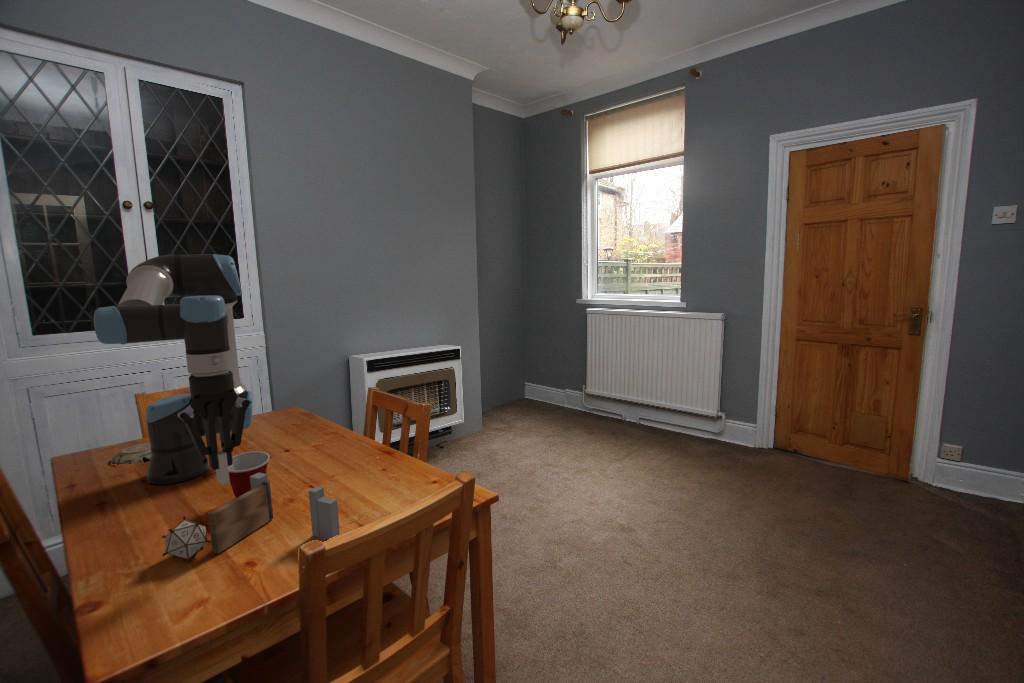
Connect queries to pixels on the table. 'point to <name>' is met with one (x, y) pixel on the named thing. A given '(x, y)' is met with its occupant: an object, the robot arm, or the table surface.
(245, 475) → the plastic cup
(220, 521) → the door
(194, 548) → the game die
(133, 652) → the table surface
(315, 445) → the table surface
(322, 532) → the grey upright posts
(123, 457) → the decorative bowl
